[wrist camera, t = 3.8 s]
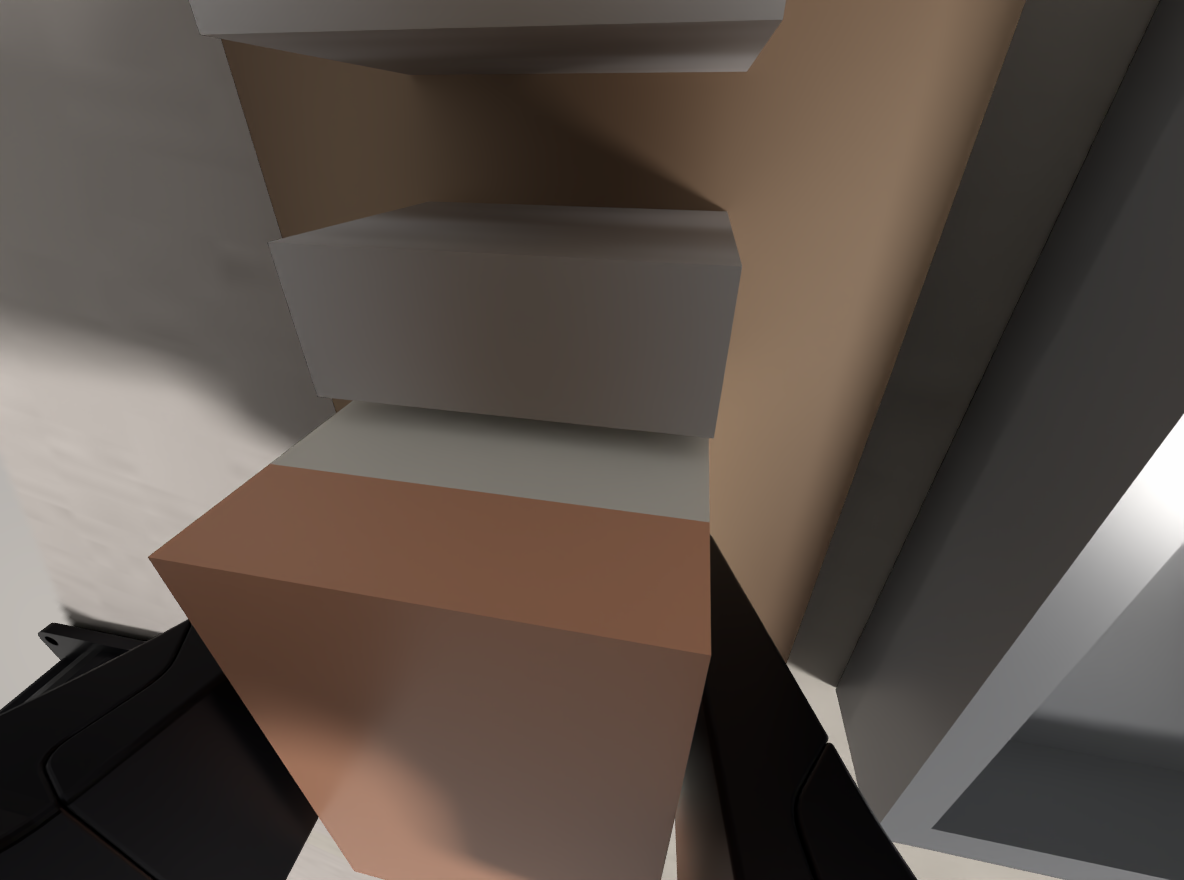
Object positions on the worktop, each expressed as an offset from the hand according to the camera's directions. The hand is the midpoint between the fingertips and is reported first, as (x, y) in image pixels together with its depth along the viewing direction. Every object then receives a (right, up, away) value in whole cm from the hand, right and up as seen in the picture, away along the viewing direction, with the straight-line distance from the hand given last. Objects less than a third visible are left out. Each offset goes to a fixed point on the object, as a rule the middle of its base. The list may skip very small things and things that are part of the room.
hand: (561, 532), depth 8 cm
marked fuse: (0, +1, +1) cm, 1 cm away
